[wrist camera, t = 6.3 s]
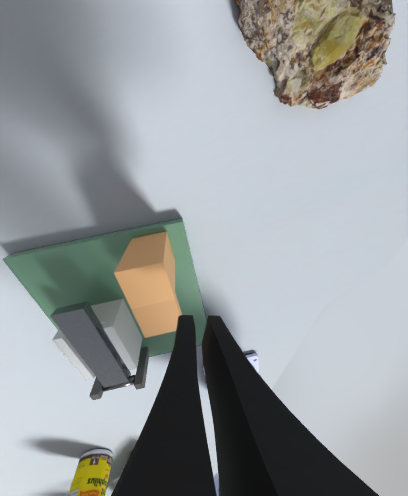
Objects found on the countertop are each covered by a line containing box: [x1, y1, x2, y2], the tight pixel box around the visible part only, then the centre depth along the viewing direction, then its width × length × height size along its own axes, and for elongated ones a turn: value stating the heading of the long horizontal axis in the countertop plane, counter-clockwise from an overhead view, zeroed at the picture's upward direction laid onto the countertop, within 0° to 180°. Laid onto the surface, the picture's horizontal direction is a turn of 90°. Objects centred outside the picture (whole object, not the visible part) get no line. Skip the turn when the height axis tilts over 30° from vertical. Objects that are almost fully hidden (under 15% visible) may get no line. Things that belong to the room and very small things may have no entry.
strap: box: [51, 302, 136, 392], centre depth 17 cm, size 11×3×1 cm, turn 10°
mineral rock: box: [235, 0, 396, 109], centre depth 12 cm, size 11×4×8 cm
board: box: [3, 218, 207, 400], centre depth 18 cm, size 16×15×5 cm
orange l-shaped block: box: [114, 231, 182, 338], centre depth 15 cm, size 6×3×5 cm, turn 10°
